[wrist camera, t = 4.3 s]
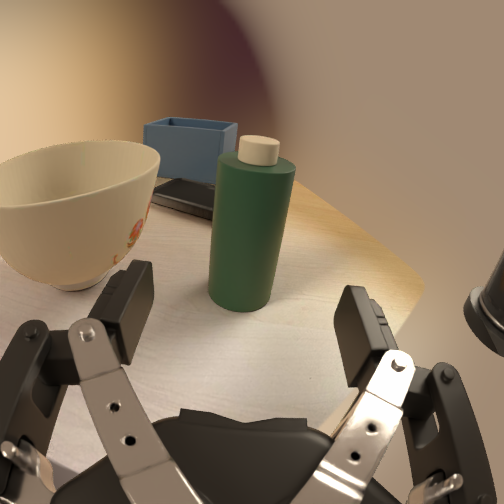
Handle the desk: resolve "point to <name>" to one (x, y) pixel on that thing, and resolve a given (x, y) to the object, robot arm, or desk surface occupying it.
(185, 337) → the desk surface
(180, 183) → the phone
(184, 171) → the blue open storage bin
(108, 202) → the bowl
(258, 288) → the bottle
